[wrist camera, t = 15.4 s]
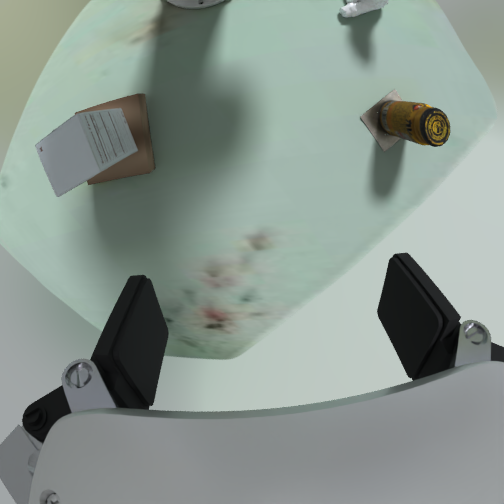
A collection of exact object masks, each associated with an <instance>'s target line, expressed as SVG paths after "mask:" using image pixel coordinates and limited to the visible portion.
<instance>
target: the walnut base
mask: <svg viewBox="0 0 504 504" xmlns="http://www.w3.org/2000/svg"><path fill="white" fill-rule="evenodd" d="M117 108H121V109H122V111H123V114H124V116H125V119H126V121H127V124H128V126H129V129H130V131H131V134H132V137H133V139H134V141H135V144H136V147H137V149H138V151H137V152H135V153H133V154H131V155H129V156H128V157H126V158H124V159H122V160H120V161H119V162H117V163H115V164H114V165H112V166H110V167H108V168H107V169H105V170H103V171H102V172H100V173H98V174H97V175H95V176H94V177H92V178H90V179H89V180H87V183H88V185H91V184H95V183H100V182H105V181H109V180H114V179H119V178H125V177H130V176H135V175H141V174H147V173H150V172H152V171H153V170H154V169H155V163H154V157H153V150H152V144H151V137H150V130H149V122H148V115H147V106H146V97H145V94H135V95H131V96H127V97H123V98H120V99H116V100H113V101H109V102H106V103H103V104H100V105H97V106H93V107H90V108H88V109H85V110H82V111H79V112H76V113H75V115H76V114H77V113H83V112H90V111H98V110H107V109H117Z"/></svg>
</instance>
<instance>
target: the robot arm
mask: <svg viewBox="0 0 504 504" xmlns="http://www.w3.org/2000/svg"><path fill="white" fill-rule="evenodd" d="M166 1H168V2H169V3H171V4H173V5H175V6H178V7H181V8H187V9H199V8H206V7H210V6H213V5H216V4H219V3H221V2H223V1H225V0H166ZM201 3H203V4H201ZM377 312H378V317H379V319H380V321H381V323H382V325H383V327H384V329H385V331H386V333H387V334H388V336H389V338H390V340H391V342H392V344H393V346H394V348H395V350H396V352H397V355H398V356H399V359H400V361H401V363H402V365H403V367H404V369H405V371H406V373H407V375H408V377H409V378H412V380H413V381H411V382H408V383H404V384H401V385H397V386H394V387H390V388H386V389H383V390H379V391H374V392H371V393H366V394H362V395H357V396H352V397H347V398H342V399H337V400H332V401H326V402H321V403H313V404H307V405H299V406H291V407H282V408H273V409H262V410H247V411H221V412H189V411H187V412H186V411H159V410H149V406H152V405H153V403H154V399H155V394H156V388H157V384H158V379H159V375H160V370H161V366H162V361H163V357H164V352H165V348H166V344H167V340H168V328H167V325H166V322H165V320H164V317H163V314H162V311H161V309H160V306H159V303H158V300H157V297H156V294H155V291H154V288H153V285H152V282H151V280H150V279H149V278H146V276H145V275H135V276H130V277H129V279H128V281H127V283H126V285H125V287H124V289H123V291H122V293H121V294H120V296H119V298H118V300H117V302H116V304H115V306H114V309H113V311H112V313H111V315H110V317H109V319H108V321H107V323H106V325H105V327H104V329H103V332H102V334H101V336H100V338H99V340H98V343H97V345H96V348H95V350H94V352H93V354H92V357H91V359H90V360H88V359H78V360H76V361H73V362H72V363H71V364H69V365H68V366H67V367H66V369H65V370H64V372H63V374H62V386H60V387H59V388H57V389H55V390H54V391H52V392H50V393H49V394H47V395H45V396H44V397H42V398H40V399H39V400H37V401H35V402H34V403H32V404H31V405H29V406H28V407H27V409H26V410H25V412H24V414H23V419H22V422H23V426H22V427H21V426H20V425H18V426H17V427H16V428H15V429H14V430H13V431H12V432H11V433H10V435H9V436H8V437H7V438H6V439H5V440H4V441H3V442H2V444H1V445H0V478H1V480H2V482H3V483H4V485H5V486H6V488H7V490H8V491H9V493H10V494H11V496H12V497H13V499H14V500H15V502H16V503H17V504H504V347H502V346H499V345H497V344H495V343H492V342H491V336H490V333H489V331H488V329H487V328H486V327H485V326H484V325H483V324H481V323H480V322H478V321H474V320H467V321H465V322H463V323H462V324H460V322H459V320H460V318H461V317H460V315H459V314H458V313H457V311H456V310H455V309H454V308H453V306H452V305H451V303H450V302H449V301H448V300H447V298H446V297H445V296H444V295H443V293H442V292H441V291H440V290H439V288H438V287H437V286H436V285H435V284H434V283H433V281H432V280H431V279H430V278H429V276H428V275H426V273H425V272H424V271H423V269H422V268H421V267H420V266H419V265H418V264H417V263H416V261H415V260H414V259H413V258H412V257H411V256H410V255H409V254H408V253H399V254H394V255H393V257H392V258H390V260H389V263H388V268H387V273H386V278H385V281H384V286H383V290H382V294H381V298H380V302H379V306H378V310H377Z"/></svg>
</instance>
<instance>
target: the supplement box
mask: <svg viewBox="0 0 504 504" xmlns="http://www.w3.org/2000/svg"><path fill="white" fill-rule="evenodd" d="M35 146H36V149H37V152H38V155H39V157H40V160H41V162H42V165H43V167H44V169H45V172H46V174H47V176H48V179H49V181H50V183H51V185H52V187H53V190H54V192H55V194H56V196H57V197H59V196H61V195H63V194H65V193H66V192H68V191H70V190H72V189H73V188H75V187H77V186H78V185H80V184H82V183H84V182H85V181H87V180H89V179H90V178H92V177H94V176H95V175H97V174H98V173H100V172H102V171H103V170H105V169H107V168H108V167H110V166H112V165H114V164H115V163H117V162H119V161H120V160H122V159H124V158H126V157H128V156H129V155H131V154H133V153H135V152H137V151H138V149H137V147H136V144H135V141H134V139H133V137H132V134H131V131H130V129H129V126H128V124H127V121H126V119H125V116H124V114H123V111H122V109H121V108H117V109H107V110H98V111H90V112H83V113H77V114H76V115H74V116H73V117H71V118H70V119H68V120H67V121H66V122H64V123H63V124H62V125H60V126H59V127H58V128H56V129H55V130H53V131H52V132H51V133H50V134H48V135H47V136H46V137H45V138H43V139H42V140H41V141H40V142H39V143H37V144H36V145H35Z"/></svg>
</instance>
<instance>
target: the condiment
mask: <svg viewBox="0 0 504 504" xmlns="http://www.w3.org/2000/svg"><path fill="white" fill-rule="evenodd" d="M377 112H378V113H377ZM361 119H362V120H363V121H364V123H365V124H366V126H367V127H368V129H369V130H370V132H371V133H372V134H373V136H374V137H375V139H376V140H377V142H378V143H379V145H380V146H381V148H382V149H383V151H384V152H385V151H386V150H388V149H389V148H390V147H391V146H392V145H394V144H395V143H396V142H397V141H398V140H399V139H400V138H402V139H406V140H409V141H412V142H415V143H418V144H421V145H431V146H434V147H437V146H442V145H443V144H444V143H445V142H446V141H447V140H448V137H449V135H450V123H449V120H448V118H447V116H446V114H445V113H444V112H443V111H441V110H440V109H438V108H433V107H431V106H429V105H427V104H424V103H415V102H406V101H402V99H401V98H400V96H399V94H398V93H397V91H396V90H395V89H394V90H393V91H392V92H390V93H389V94H388V95H387V96H385V97H384V98H383V99H382V100H380V101H379V102H378V103H377V104H376V105H374V106H373V107H372V108H370V109H369V110H368V111H367V112H366V113H365V114H363V115H362V116H361ZM385 134H386V135H385ZM387 134H388V135H387Z"/></svg>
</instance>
